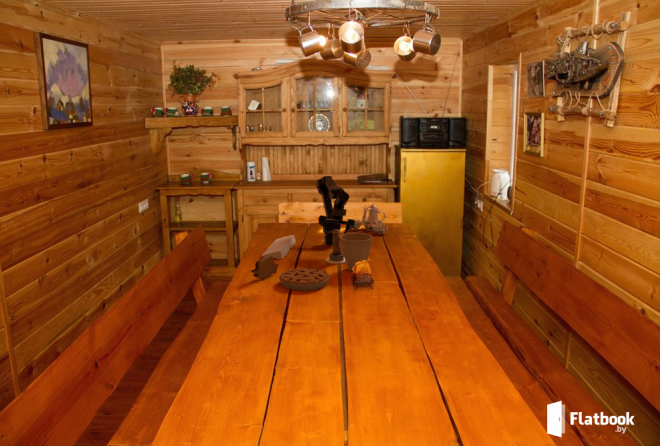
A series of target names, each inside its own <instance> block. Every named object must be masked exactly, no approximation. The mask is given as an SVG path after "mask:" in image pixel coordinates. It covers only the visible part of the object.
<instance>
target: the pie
mask: <svg viewBox="0 0 660 446" xmlns="http://www.w3.org/2000/svg"><path fill="white" fill-rule="evenodd" d="M278 279H279V282H281V284H282V286H283V287H285V288H286V289H289V290H293V291H303V292H304V291H314V290H318V289H321V288H323V287H325V285H326V283H327V282H328V281H329V279H330V275H329V273H328V272H327V271H326V270H322V269H321V268H318V269H316V268H315V267H314V268H313V267H309V268H305V267H301V268H297V267H293V268H292V269H286V270H285V271H282V272H281V273H280V274H279V277H278Z"/></svg>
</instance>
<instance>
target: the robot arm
mask: <svg viewBox="0 0 660 446" xmlns="http://www.w3.org/2000/svg"><path fill="white" fill-rule="evenodd" d="M315 187H316V189H317V193H318V194H319V195H321V199H322V203H323V208H324V212H325V215H319V216H318V225H320V226H321V227H322V233H323V234H324V238H323V239H324V242H323V243H324V244H325V245H327V246H333V230H335V229H338V230H340V231H341V228H342V226H344V225H345V229H344V233H343V235H344V234H348V233H349V231H352V230H353V229H354V226H355V221H356V220H355V219H352V218H347V220H343V219H344V217H346V216H347V209H346V208H345V206H346V204H347V203H348V202H349V200H350V195H349V193H348V192H347V191H345V189H344V187H342V186H339V185H337V183H336V182H335V180H334V179H333V177H332V175H324V176H322V177H320V178H319V179H317V181H316V182H315ZM332 200H334V201H333V203H332Z"/></svg>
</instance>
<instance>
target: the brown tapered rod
mask: <svg viewBox="0 0 660 446" xmlns="http://www.w3.org/2000/svg"><path fill="white" fill-rule="evenodd" d="M340 237H341V229H340V230H338V229H335V230H333V245H332V253H333V255H335V256H338V255H340V253H341V238H340Z"/></svg>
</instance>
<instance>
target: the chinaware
mask: <svg viewBox="0 0 660 446" xmlns="http://www.w3.org/2000/svg"><path fill="white" fill-rule="evenodd" d="M367 209H368V217H367ZM363 210H364V211H363V215H362V218H361V220H360V219H358V220H355V226H354V229H352V230H353V231H358V230H359V229H360V228H361V226H362V225H363V226H364V228H365V230H366V231H368V232H375V233H376V235H382V234H385V233H388V232H389V228H388V227H387V224H385V223H384V224H383V221H385V219H386V213H385V211H383V210H379V207H377V206H376V205H375V204H374V203H373V204H372V205H371V206H370V207H368V208H366V207H365V206H364V207H363ZM380 212H381V213H383V216H384V217H383V218H382V219H379V215H378V214H380ZM386 229H387V231H385V230H386Z"/></svg>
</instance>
